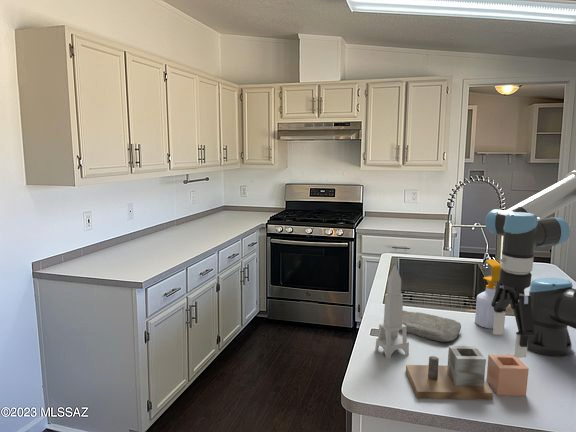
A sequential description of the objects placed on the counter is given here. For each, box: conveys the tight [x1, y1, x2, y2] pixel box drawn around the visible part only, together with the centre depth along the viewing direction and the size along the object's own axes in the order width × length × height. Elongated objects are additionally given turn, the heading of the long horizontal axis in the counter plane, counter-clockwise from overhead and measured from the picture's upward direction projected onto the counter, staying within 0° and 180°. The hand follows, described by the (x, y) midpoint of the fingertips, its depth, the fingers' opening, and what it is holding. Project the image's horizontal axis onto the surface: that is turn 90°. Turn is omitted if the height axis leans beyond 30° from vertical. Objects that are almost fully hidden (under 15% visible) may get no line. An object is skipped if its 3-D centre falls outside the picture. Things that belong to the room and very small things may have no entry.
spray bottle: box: [474, 259, 502, 329], centre depth 162 cm, size 9×9×25 cm
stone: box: [402, 310, 462, 343], centre depth 160 cm, size 26×4×15 cm
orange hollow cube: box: [486, 354, 529, 397], centre depth 122 cm, size 8×8×8 cm
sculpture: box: [375, 264, 410, 360], centre depth 141 cm, size 7×8×30 cm
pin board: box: [405, 345, 494, 401], centre depth 124 cm, size 20×14×10 cm
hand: (508, 344), depth 121 cm, fingers open, 13 cm apart
